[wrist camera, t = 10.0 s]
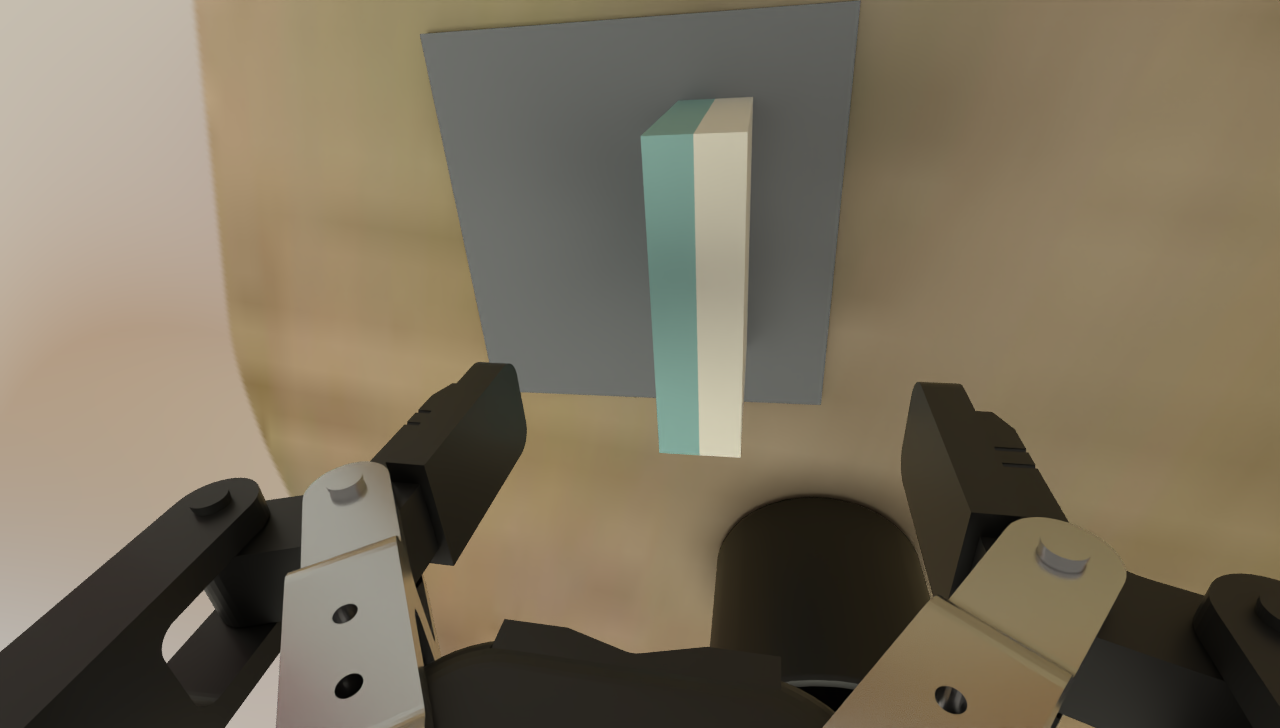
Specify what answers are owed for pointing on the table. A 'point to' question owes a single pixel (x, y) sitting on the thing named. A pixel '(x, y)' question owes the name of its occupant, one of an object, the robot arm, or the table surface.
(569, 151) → the mat
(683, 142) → the block
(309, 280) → the table surface
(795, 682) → the mug
